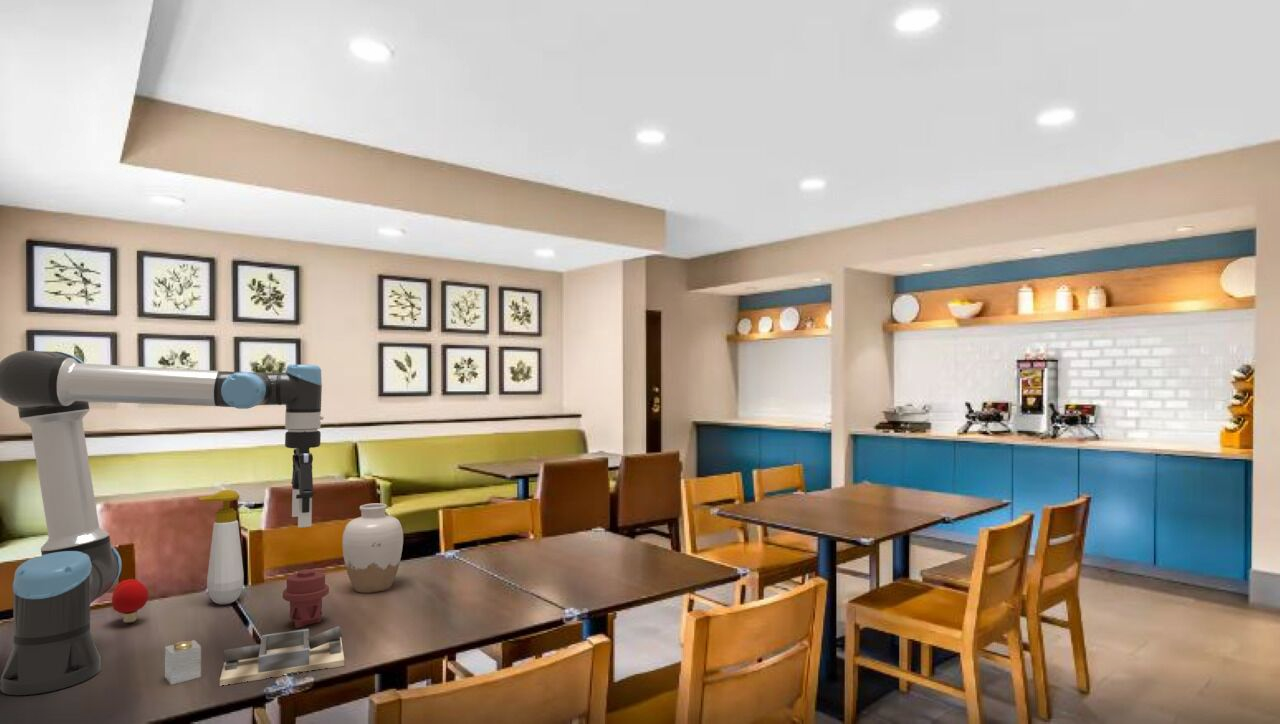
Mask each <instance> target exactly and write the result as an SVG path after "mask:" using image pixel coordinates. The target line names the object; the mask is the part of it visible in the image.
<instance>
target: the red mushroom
mask: <svg viewBox="0 0 1280 724" xmlns="http://www.w3.org/2000/svg"><path fill="white" fill-rule="evenodd" d="M148 598H149V591H148V588H147V586H146V585H145V584H144V583H142V582H141V581H140V580H137V579H135V578H129V579H125V580H122V581H120V582H119V583H118V584H117V585H116V586H115V589H114V590H113V592H112V597H111V604H112V607H113V609H114V611H116V612H117V613H119V614H122V615H123V618H122V621H123V622H124V623H126V624H129V625H130V624H133V623H134V622H135V621H136V620H137V619H138V610H141V609H143V607H144V606H145V605H146V604H147V602H148Z"/></svg>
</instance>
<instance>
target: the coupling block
mask: <svg viewBox="0 0 1280 724" xmlns="http://www.w3.org/2000/svg"><path fill="white" fill-rule="evenodd" d="M164 678H165V679H166V681H167V682H168V683H169V684H170V685H171V686H172V685H176V684H180V683H183V682H188V681H190V680H196V679H198V678H202V646H201V645H200V644H199V643H198V642H197V641H196V640H195V639H192V640H182V641H179V642H175V643H174V644H171V645H166V646H164Z"/></svg>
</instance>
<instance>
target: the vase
mask: <svg viewBox="0 0 1280 724" xmlns="http://www.w3.org/2000/svg"><path fill="white" fill-rule="evenodd" d="M387 507H388V505H387V504H386V503H381V502H380V503H375V502H374V503H373V502H372V503H366V504H362V505H360V506H359V511H360V514H361V516H360V517H357V518H354V519H352V520H350V521H348V522H347V524H346V525H345V528H344V530H343V533H342V554H343V560H344V565H345V570H346V572H347V575H348V578H349V581H350V584H351V586H352V587H353V588H352V589H353V590H354V591H355V592H357V593H360V594H361V593H362V594H370V593H371V594H372V593H379V592H384V591H386V590H388V589H390V588H391V587H392V586H393V583H394V581H395V578H396V575H397V573H398V570H399V566H400V564H401V558H402V552H403V545H404V531H403V528H402V524H401V522H400V520H399V519H398V518H397V517H394V516H392V515H387V514H386V509H387Z"/></svg>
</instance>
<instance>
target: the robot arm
mask: <svg viewBox="0 0 1280 724" xmlns="http://www.w3.org/2000/svg"><path fill="white" fill-rule="evenodd" d="M322 388H323V383H322V369H321V367H320V366H319V365H317V364H288V365H287V366H286V369H285V372H258V371H257V372H256V371H255V372H254V371H253V372H252V371H251V372H250V371H249V372H248V371H226V370H225V371H224V370H223V371H222V370H209V369H207V370H205V369H188V368H187V369H186V368H173V367H172V368H170V367H168V368H167V367H157V366H156V367H155V366H154V367H153V366H152V367H151V366H136V365H135V366H134V365H120V364H119V365H117V364H102V363H101V364H99V363H86V362H84V361H83V360H81V359H80V358H79V357H76V356H74V355H73V354H69V353H66V352H63V351H57V350H56V351H55V350H54V351H46V350H45V351H43V350H23V351H17V352H14V353H12V354H9V355H8V356H6V357H4V358H3V359H2V360H0V399H1V400H2V401H4V402H5V403H7V404H9V405H11V406H14V407H17V411H18V417H19V421H22V422H23V423H25V424H27V425H29V427H30V430H31V436H32V442H33V448H34V456H35V461H36V467H37V474H38V475H37V476H38V480H39V487H40V492H41V498H42V505H43V511H44V517H45V522H46V523H45V524H46V530H47V536H48V539H47V540H46V542H45V543H44V544H43V545H42V546H41V547H40V553H41V556H36V557H32V558H29V559H28V560H26V561H24V562H22V563H21V564H20V565H19V566H17V568H16V569H15V571H14V577H13V578H14V579H13V583H12V585H11V586H12V590H13V591H12V592H13V595H12V596H13V598H12V599H13V600H12V601H13V603H12V604H13V607H12V608H13V616H12V617H13V619H12V620H13V624H12V626H13V629H12V630H13V631H12V632H13V635H12V636H13V637H12V639H13V640H12V643H13V644H12V648H11V651H10V654H9V656H8V658H7V661H6V663H5V666H4V668H3V672H2V674H1V676H0V692H1V693H3V694H5V695H9V696H10V695H11V696H27V695H37V694H43V693H48V692H49V693H50V692H54V691H59V690H62V689H66V688H68V687H72V686H75V685H78V684H81V683H83V682H85V681H88V680H89V679H91V678H93V677H94V676H96V675H97V674H98V673H99V672H100V671H101V666H102V665H101V663H102V662H101V660H102V659H101V655H100V652H99V650H98V648H97V645H96V644H95V641H94V638H93V636H92V633H91V604H92V603H93V602H95V601H96V600H97V599H99V598H100V597H103V596H104V595H105V594H107V593H108V592H109V591H110V590H111V589H112V588H113V586H115V583H117V581H118V579H119V577H120V574H121V572H122V564H123V563H122V558H121V556H120V554H119V552H118V551H117V549H116V548H114V547H113V546H112V543H111V537H110V533H109V532H108V531H106V530H104V529H102V528H101V527H100V525H99V524H100V523H99V517H98V510H97V505H96V504H97V503H96V498H95V491H94V486H93V479H92V472H91V466H90V461H89V455H88V453H89V452H88V447H87V441H86V436H85V435H86V434H85V429H84V422H83V419H84V417H85V416H87V414H88V413H89V412H90V405H89V402H91V403H93V402H95V403H118V404H120V403H121V404H145V405H146V404H147V405H169V406H171V405H172V406H174V405H175V406H199V407H202V406H203V407H221V408H222V407H223V408H234V409H239V410H242V409H244V410H245V409H251V408H253V407H257V406H283V405H284V406H285V415H284V416H285V418H284V420H285V421H284V424H285V425H284V429H286V430H287V431H286V432H285V434H284V447H285V448H287V449H293V451H292V452H293V455H292V479H291V486H292V496H291V497H292V499H291V500H292V501H291V518H295V517H296V518H297V528H298V529H299V528H308V527H310V528H311V527H312V523H313V522H312V519H313V518H312V517H313V515H312V512H313V511H312V510H313V497H314V482H313V480H314V479H313V461H314V457H313V456H314V455H313V453H311V452H310V449H312V448H318V447H320V446H321V437H322V434H321V433H322V432H321V431H320V430H319V429H320V428H321V421H322V420H324V416H323V415H322V413H321V412H322Z"/></svg>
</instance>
